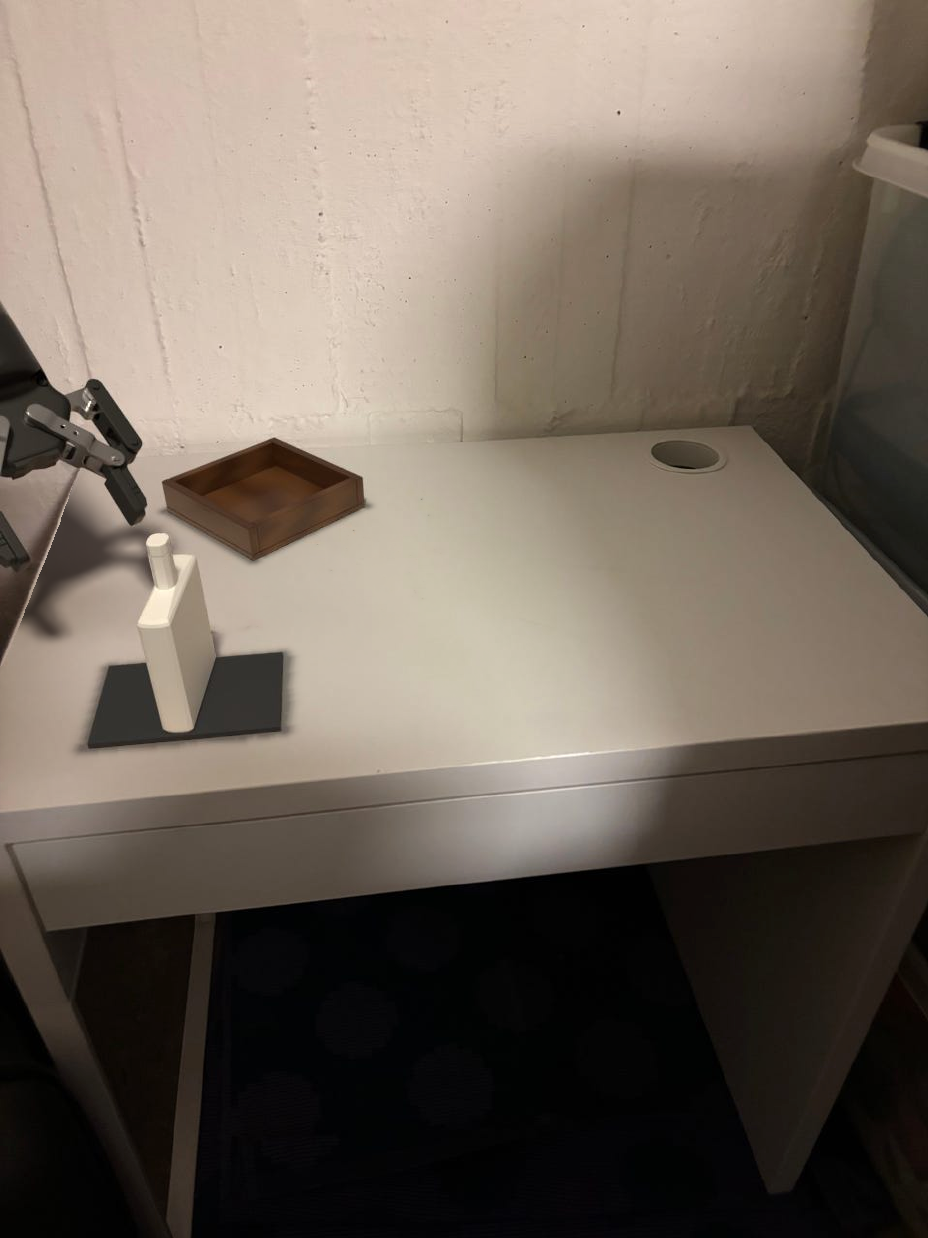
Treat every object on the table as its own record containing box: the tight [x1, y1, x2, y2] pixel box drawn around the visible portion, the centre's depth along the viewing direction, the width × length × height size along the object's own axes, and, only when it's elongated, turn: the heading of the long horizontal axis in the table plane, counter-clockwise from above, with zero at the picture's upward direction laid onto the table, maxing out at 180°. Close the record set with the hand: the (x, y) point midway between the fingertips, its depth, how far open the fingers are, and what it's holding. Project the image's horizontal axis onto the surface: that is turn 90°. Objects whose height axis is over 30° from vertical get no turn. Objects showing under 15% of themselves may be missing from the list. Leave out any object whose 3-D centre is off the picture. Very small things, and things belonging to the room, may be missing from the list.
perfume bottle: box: [136, 532, 217, 733], centre depth 59 cm, size 8×2×12 cm, turn 1°
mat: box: [87, 651, 284, 749], centre depth 62 cm, size 12×8×1 cm, turn 98°
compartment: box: [161, 436, 366, 561], centre depth 83 cm, size 13×13×3 cm
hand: (84, 542), depth 63 cm, fingers open, 8 cm apart
